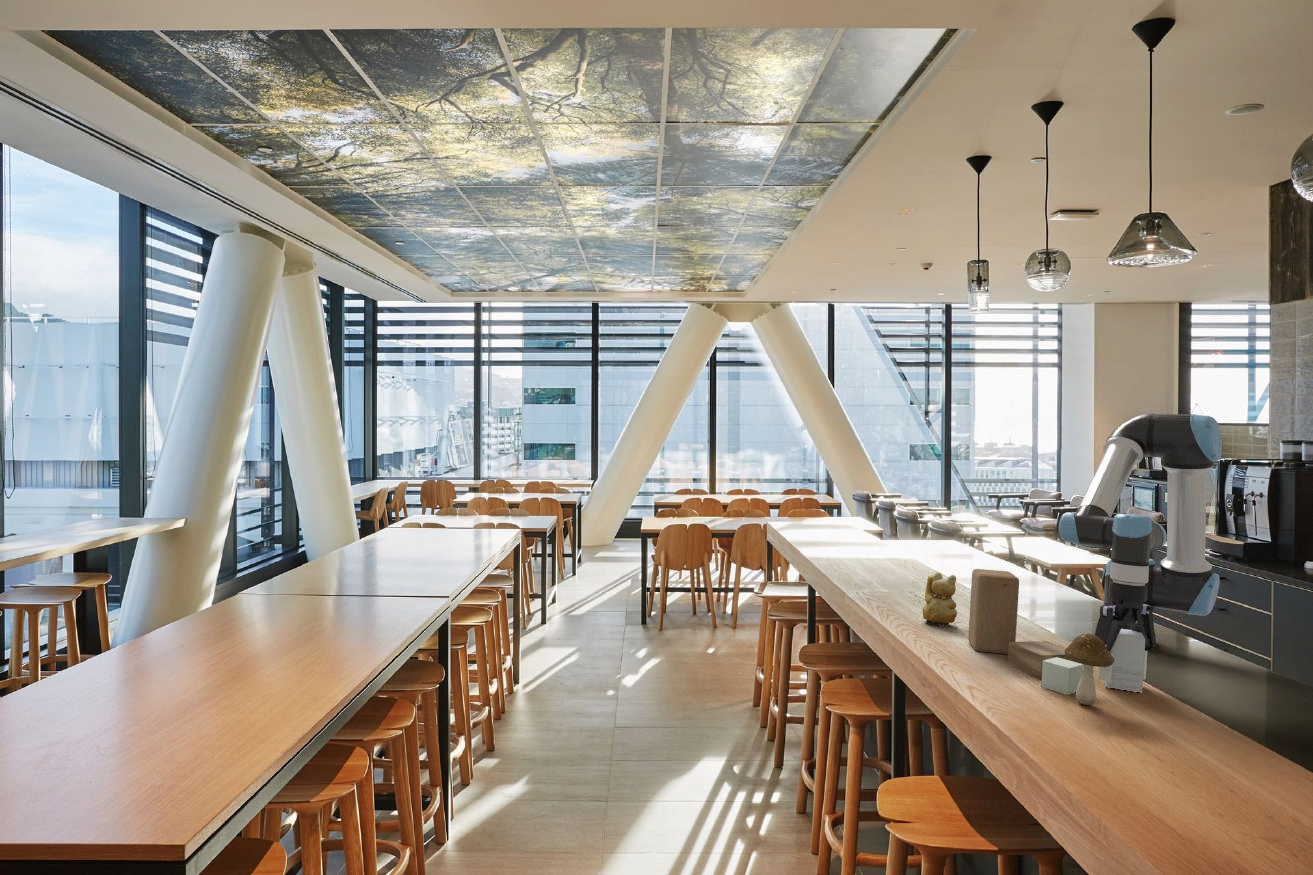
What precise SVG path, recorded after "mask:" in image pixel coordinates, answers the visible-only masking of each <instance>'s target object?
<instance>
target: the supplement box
mask: <svg viewBox="0 0 1313 875" xmlns="http://www.w3.org/2000/svg"><path fill="white" fill-rule="evenodd" d="M1144 652H1145V638H1144V636H1143V634H1142V633H1140V632H1137V631H1133V630H1127V629H1121V630H1120V633H1119V635H1118V637H1117V639H1116V641H1115V643H1114V645H1113V647H1112V649H1111V651H1110V653H1113V658H1114V663H1113V665H1112V680H1111V682H1106V681H1103V682H1104V686H1105V688H1106V687H1108V688H1107V689H1110V688H1117V689H1121V690H1120V691H1123V690H1127V691H1126V692H1130V691H1137V692H1140V693H1139V694H1143V682H1144V679H1143V669H1144ZM1117 689H1116V690H1117Z"/></svg>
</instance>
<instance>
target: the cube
mask: <svg viewBox="0 0 1313 875" xmlns="http://www.w3.org/2000/svg"><path fill="white" fill-rule="evenodd" d="M1083 667H1084V666H1083V664H1081V663H1076V662H1073V661H1069V660H1065V659H1062V658H1058V657H1055V658H1051V659H1047V660H1043V665H1042V680H1040V681H1041V683H1040V684H1041V685H1040V687H1041V688H1043V689H1047V690H1049V691H1050V690H1051V691H1054V692H1057V693H1060V694H1063V693H1065V694H1064V695H1066V694H1067V695H1066V696H1069V695H1072V694H1071V693H1073V694H1076V693H1075V692H1076V690H1077V688H1078V685H1079V682H1080V680H1081V677H1082V674H1083ZM1068 694H1069V695H1068Z"/></svg>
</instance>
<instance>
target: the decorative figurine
mask: <svg viewBox="0 0 1313 875" xmlns="http://www.w3.org/2000/svg"><path fill="white" fill-rule="evenodd" d="M926 580H927V582H926V587H925V591H924V601H925V604H924V605H923V607H922V618H923V620H926V622H925V624H926V625H928V624H929V625H933V626H936V627H946V626H948V625H950V624H952V623H955V621H956V618H957V615H958V611H957V609H956V608H957V603H956V602H955V600H954V599H953V597H952V596H954V595H955V593H956V591H957V590H956V589H957V588H956V582H957V576H956V575H954V574H951V575H949V576H948V577H947V578H943V574H942V573H941V572H940V571H936V572H934V574H933V575H929V576H928V577H927V579H926Z"/></svg>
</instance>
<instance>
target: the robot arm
mask: <svg viewBox="0 0 1313 875" xmlns="http://www.w3.org/2000/svg"><path fill="white" fill-rule="evenodd" d="M1221 432H1222V430H1221V428H1220V425H1219V423H1218V421H1217V420H1216V418H1214V417H1213V416H1210V415H1201V414H1190V413H1188V414H1186V413H1185V414H1184V413H1183V414H1182V413H1180V414H1179V413H1170V414H1169V413H1144V414H1143V413H1142V414H1140V415H1137V416H1134V417H1132V418H1130V419H1128V420H1126V421H1124V422H1123V423H1121V424H1120V425H1119V426H1118V427H1116V428H1115V429H1114V430H1113V431H1112V432H1111V433H1110V435H1109V436H1108V437H1107V439H1106V440H1105V442H1104V445H1103V448H1102V450H1103V451H1102V452H1103V456H1102V459H1101V460H1100V462H1099V464H1098V466H1097V469H1096V471H1095V473H1094V475H1093V477H1092V479H1091V481H1090V483H1089V486H1088V488H1087V490H1086V491H1085V494H1084V496H1083V498H1082V500H1081V501H1080V504H1079V506H1078V508H1077V510H1076V511H1075V512H1074V511H1071V512H1064V513H1063V514H1062V515H1061V516H1060V519H1059V524H1058V531H1059V532H1058V533H1059V537H1060V538H1061V540H1062V541H1064V542H1067V543H1072V544H1075V545H1076V544H1077V545H1079V546H1080V545H1082V546H1091V547H1099V548H1105V549H1111V553H1110V554H1111V557H1110V558H1111V559H1109V560H1108V561H1107V562H1106V567H1105V568H1106V569H1105V573H1104V590H1103V591H1104V592H1103V593H1104V594H1103V604H1102V605H1100V607H1099V618H1098V620H1097V622H1096V625H1095V627H1094V635H1095V636H1097V637H1098V638H1100V639H1101V640H1102V641H1103V642H1104V644H1105V645H1106V647H1107V649H1108V651H1109V652H1110V651H1111V649H1112V647H1113V645H1114V643H1115V641H1116V639H1117V637H1118V635H1119V633H1120V630H1121V629H1127V630H1133V631H1137V632H1140V633H1142V634H1143V636H1144V638H1145V652H1144V669H1143V680H1147V665H1148V663H1149V662H1148V661H1149V651H1150V652H1153V651H1154V648H1155V647H1157V641H1158V640H1157V637H1158V636H1157V634H1156V630H1155V625H1154V620H1153V619H1154V618H1153V617H1154V616H1153V613H1154V608H1155V609H1158V610H1159V609H1161V610H1164V611H1165V610H1166V611H1172V612H1177V613H1181V614H1187V615H1194V616H1195V615H1196V616H1200V617H1201V616H1202V617H1204V616H1205V617H1206V616H1208V615H1209V614H1210V613H1211V612H1212V610H1213V609H1214V606H1215V604H1216V601H1217V597H1218V595H1219V594H1218V593H1219V590H1220V575H1219V574H1218V573H1215V572H1213V568H1212V567H1213V566H1212V563H1210V562H1209V561H1208V560H1206V530H1207V529H1206V522H1207V521H1206V520H1207V519H1206V518H1207V517H1206V516H1207V472H1209V471H1210V470H1211V469H1213V468H1214V465H1215V464H1214V463H1215V462H1218V461H1220V460H1221V457H1222V455H1223V439H1222V433H1221ZM1148 457H1151V458H1159V459H1160V465H1161V467H1162V468H1163V469H1164V470H1165V471H1166V472H1167V498H1166V499H1167V512H1166V514H1167V515H1166V516H1167V518H1166V519H1167V520H1166V524H1167V527H1166V529H1167V530H1165V528H1164V527H1163V525H1162V524H1160V523H1159V522H1157V521H1156V520H1155V521H1154V520H1152V518H1151V517H1150V516H1148V515H1145V514H1144V515H1143V514H1137V513H1136V514H1135V513H1120V512H1119V513H1117V514H1116V515H1114V517H1112V515H1113V513H1114V511H1115V509H1116V506H1117V505H1118V502H1119V500H1120V498H1121V496H1122V494H1123V491H1124V489H1125V487H1126V484H1127V482H1128V480H1129V478H1130V476H1131V474H1132V472H1133V469H1134V467H1135V465H1138V464H1139V463H1141V462H1142V460H1143V459H1144V458H1148ZM1166 531H1167V532H1166ZM1165 544H1166V557H1164V558H1163V559H1161V560H1160V564H1159V565H1157V564H1156V562H1155V560H1154V559H1152V558H1150V554H1151V553H1154V552H1157V551H1159V550H1160V549H1162V547H1164V546H1165ZM1155 564H1156V565H1155ZM1111 655H1112V656H1113V653H1111ZM1112 665H1113V664H1112ZM1112 665H1111V666H1107V667H1098V668H1099V669H1098V680H1101V681H1103V682H1104V681H1106V682H1111V680H1112Z"/></svg>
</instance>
